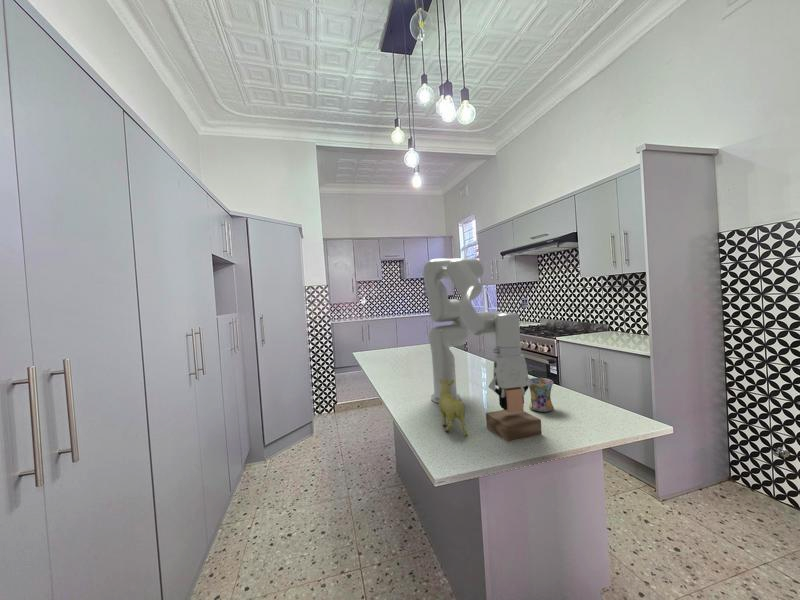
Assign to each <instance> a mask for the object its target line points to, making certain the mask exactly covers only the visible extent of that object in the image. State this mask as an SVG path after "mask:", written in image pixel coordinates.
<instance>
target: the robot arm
mask: <svg viewBox="0 0 800 600" xmlns="http://www.w3.org/2000/svg"><path fill="white" fill-rule="evenodd" d="M483 266H484V265H483V264H482V262H481V261H480V260H479V259H477V258H434V259H430V260H428V261H427V262H426V263H425V264H424V266H423V270H422V271H423V272H422V276H423V281H424V284H425V289H426V291H427V299H428V301H427V302H428V310H429V316H430V319H431V321H432V322H434V323H448V322H451V324H444V325H436V326H434V327H432V328H431V329H430V330H429V332H428V341H429V346H430V351H431V360H432V361H431V362H432V377H433V378H432V379H433V391H434V393H433V394H432V395H431V396H430V399H431V401H432V402H434V403H438V404H439V400H440V392H441V389H442V384H441V383H440V381H439V380H440V379H441V380H443V382H450V381H451V380H454V383H453V384H451V385H450V386H449V388H450V392H451V396H452V398H454V399H457V400H459V401H461V399H462V398H461V397H462V396H461V395H460V394H459V393H458V391H457V377H456V375H457V374H456V362H455V361H456V360H455V356H454V353H453V352H452V351H451V349H450V348H451V347H458V346H462V345H465V344H466V343H467V342H468V338H469V333H470V334H471V335H473V336H479V337H480V336H485V335H492V334H494V335H495V348H493V349H492V353H493V354H496V355H494V360H493V372H492V373H493V377H492V380H491V381H490V383H489V384H488V388H489V389H490V390H491V391H493V392H495V393H496V394H497V395H498V400H499V407H500V408H501V409H502V410H507V401H506V397H505V392H506V389H510V388H518V387H519V388H521V389H522V394H523V408H524V407H525V406H524V404H525V395H526V392H527V390H528V389H529V387H530V385H531V384H532V381H531V380H530V377H529V373H528V366H527V361H526V358H525V355H524V354H522V346H521V344H522V343H521V330H520V327H521V326H520V317H519V315H518V313H516V312H502V311H486V312H477V311H476V310H475V308H474V306H473V304H472V301H473V300H475V299H476V298H478V297H479V296H480V295H481V293H482V292H483V285H482V283H481V282H480V280H479V279H480V278H482V276H483V274H484V267H483ZM449 279H451V282H452V284H453V285H454V286H455V288H456V290H457V292H458V294H459V295H460V299H456V298H455V299H454V298H453V299H449V295H448V294H449V293H448V289H447V287H446V285H445V284H444V282H443V281H442V280H449ZM497 386H498V387H497Z"/></svg>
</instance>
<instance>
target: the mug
mask: <svg viewBox="0 0 800 600" xmlns="http://www.w3.org/2000/svg"><path fill="white" fill-rule="evenodd" d="M529 379H530V380H531V381H532V384H531V385H530V387H528V389H529V391H530V401H529V404H528V407H529V408H530V409H531V410H533V411H535V412H541V413H546V412H551V411H553V410H554V405H553V403H552V399H551V391H552V388H553V386H554V380H552V379H549V378H544V377H532V378H530V377H529Z"/></svg>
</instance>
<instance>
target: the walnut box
mask: <svg viewBox="0 0 800 600" xmlns="http://www.w3.org/2000/svg"><path fill="white" fill-rule="evenodd" d="M485 418H486V420H485V421H486V428H488V430H490V431H492V432H493V433H495V434H496V435H498V437H499V436H500V438H502V439H503V440H505V441H506V442H508V443H510V442H515V441H519V440H523V439H527V438H532V437H536V436H540V435H542V419H541V418H539V417H536V416H534V415H533V414H530V413H529V412H526V411H525V410H524V411H519V412H512V413H508V412H507V411H505V410H504V409H500V410H495V411H490V412H486V413H485Z"/></svg>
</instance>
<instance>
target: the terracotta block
mask: <svg viewBox="0 0 800 600" xmlns="http://www.w3.org/2000/svg"><path fill="white" fill-rule="evenodd" d="M505 397H506V401H507V410H505V411H507V412H508V413H512V412H519V411H525V409H524V407H523V406H524V404H523V394H522V389H521V388H519V387H518V388H510V389H506V392H505Z"/></svg>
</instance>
